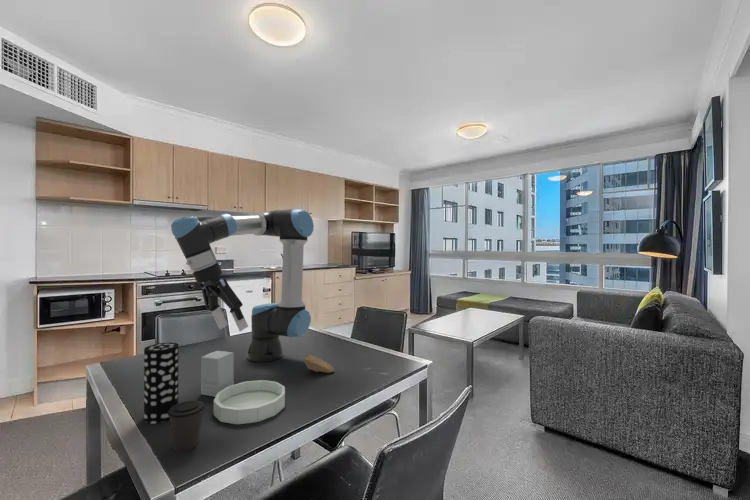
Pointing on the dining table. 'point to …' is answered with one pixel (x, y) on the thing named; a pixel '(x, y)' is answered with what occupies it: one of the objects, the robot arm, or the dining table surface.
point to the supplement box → (216, 372)
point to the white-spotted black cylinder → (160, 381)
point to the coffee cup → (186, 424)
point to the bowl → (249, 401)
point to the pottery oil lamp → (317, 364)
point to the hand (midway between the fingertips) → (233, 328)
